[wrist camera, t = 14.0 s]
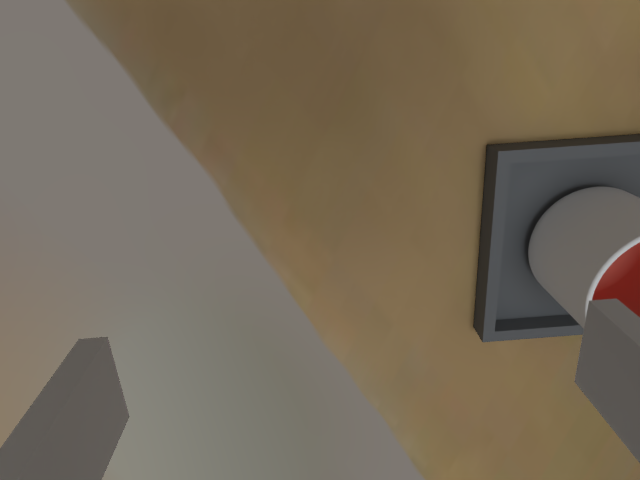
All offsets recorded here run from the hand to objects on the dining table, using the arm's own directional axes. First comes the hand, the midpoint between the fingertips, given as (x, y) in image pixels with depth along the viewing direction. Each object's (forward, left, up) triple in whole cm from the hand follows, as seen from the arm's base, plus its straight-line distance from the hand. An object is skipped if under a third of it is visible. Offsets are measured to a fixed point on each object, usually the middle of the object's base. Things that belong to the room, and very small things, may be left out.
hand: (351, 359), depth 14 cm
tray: (+9, +22, -27) cm, 36 cm away
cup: (+9, +22, -26) cm, 35 cm away
